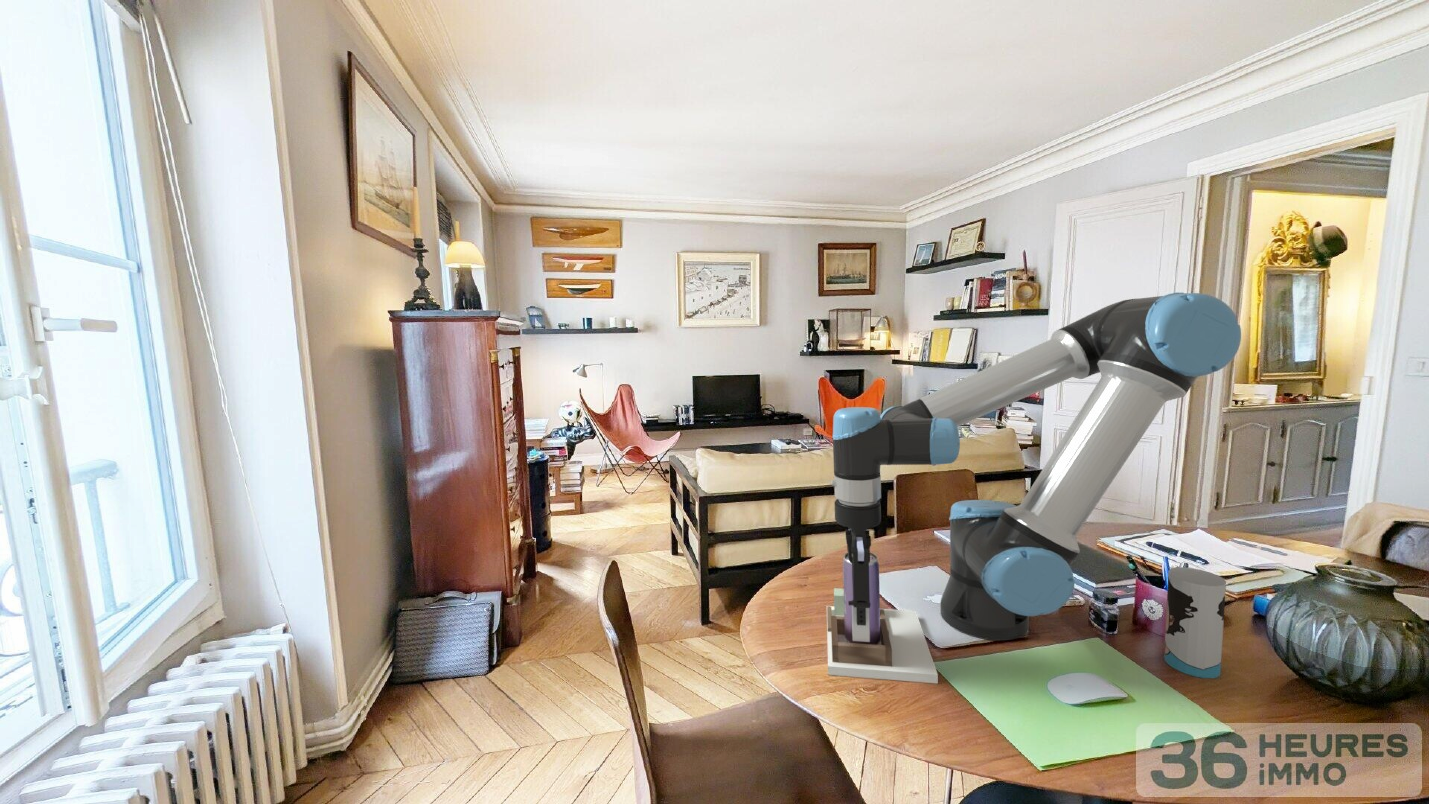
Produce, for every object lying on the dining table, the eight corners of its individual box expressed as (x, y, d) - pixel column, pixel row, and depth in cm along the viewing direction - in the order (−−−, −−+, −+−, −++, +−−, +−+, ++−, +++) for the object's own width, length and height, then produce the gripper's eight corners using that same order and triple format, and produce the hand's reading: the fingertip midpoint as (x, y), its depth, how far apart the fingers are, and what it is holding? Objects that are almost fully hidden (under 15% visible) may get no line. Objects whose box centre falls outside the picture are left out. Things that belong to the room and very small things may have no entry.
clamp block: (875, 609, 103) (875, 590, 103) (877, 617, 100) (877, 597, 100) (834, 607, 105) (833, 588, 104) (834, 615, 102) (834, 595, 101)
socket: (885, 634, 94) (884, 618, 94) (892, 666, 85) (891, 649, 85) (831, 631, 96) (830, 615, 96) (832, 662, 87) (832, 645, 87)
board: (915, 617, 102) (915, 607, 102) (937, 683, 83) (937, 670, 82) (826, 612, 106) (826, 602, 105) (828, 674, 86) (827, 662, 86)
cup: (1215, 660, 85) (1221, 572, 83) (1224, 683, 80) (1230, 590, 78) (1161, 648, 89) (1165, 564, 87) (1166, 669, 83) (1171, 580, 82)
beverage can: (882, 651, 87) (880, 565, 85) (845, 648, 88) (843, 563, 87) (878, 631, 93) (877, 550, 91) (844, 629, 94) (842, 549, 92)
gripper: (833, 484, 98) (835, 601, 100) (835, 517, 79) (839, 660, 82) (874, 484, 96) (876, 603, 99) (887, 518, 78) (889, 664, 80)
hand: (859, 629), depth 90 cm, fingers closed on beverage can, 6 cm apart
